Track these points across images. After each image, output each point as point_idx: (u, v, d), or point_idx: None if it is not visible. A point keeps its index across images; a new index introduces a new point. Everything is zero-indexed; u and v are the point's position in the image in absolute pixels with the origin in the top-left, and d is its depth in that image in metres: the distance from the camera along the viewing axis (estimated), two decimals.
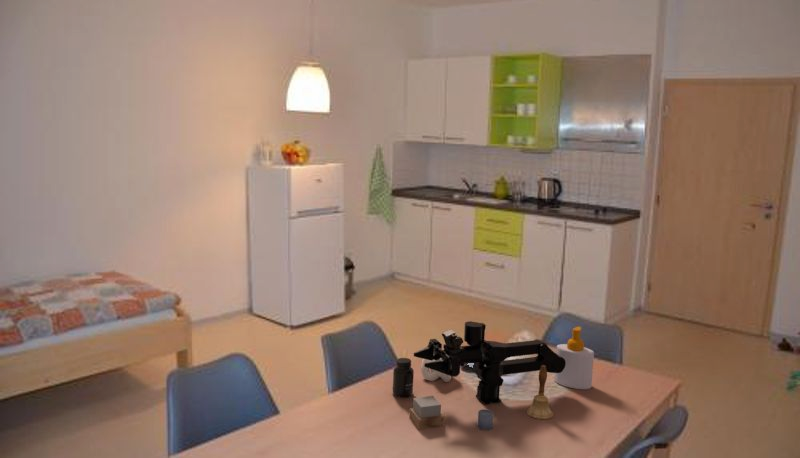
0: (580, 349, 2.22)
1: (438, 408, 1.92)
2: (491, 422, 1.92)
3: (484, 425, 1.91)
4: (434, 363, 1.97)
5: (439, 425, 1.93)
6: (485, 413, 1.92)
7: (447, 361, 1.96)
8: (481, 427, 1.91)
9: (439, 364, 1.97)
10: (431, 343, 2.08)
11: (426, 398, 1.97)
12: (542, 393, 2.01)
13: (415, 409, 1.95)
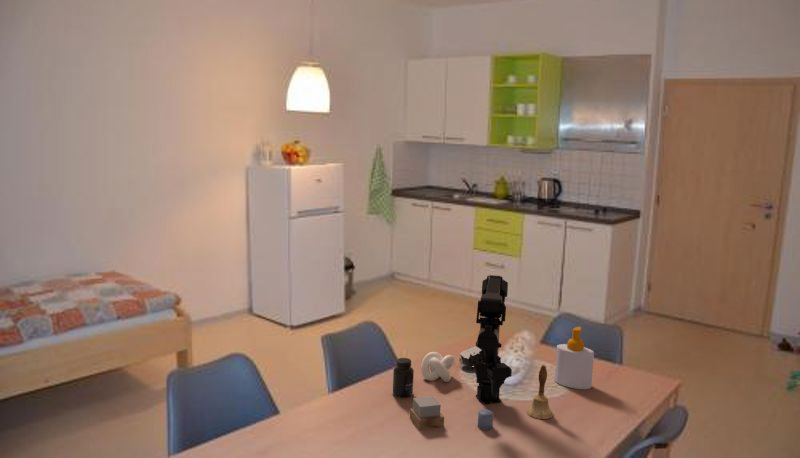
0: (580, 349, 2.22)
1: (437, 408, 1.92)
2: (491, 422, 1.92)
3: (484, 425, 1.91)
4: (494, 387, 1.85)
5: (439, 425, 1.92)
6: (485, 413, 1.92)
7: None
8: (481, 427, 1.91)
9: (495, 382, 1.85)
10: None
11: (426, 398, 1.97)
12: (542, 393, 2.01)
13: (415, 409, 1.95)
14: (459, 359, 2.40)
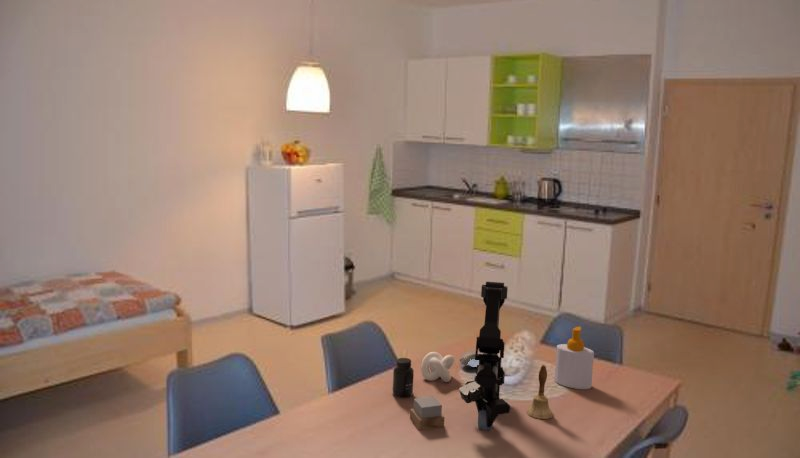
0: (580, 349, 2.22)
1: (439, 408, 1.92)
2: None
3: (484, 425, 1.91)
4: (489, 419, 1.89)
5: (440, 425, 1.92)
6: (485, 412, 1.92)
7: None
8: (481, 426, 1.91)
9: (491, 414, 1.89)
10: None
11: (427, 398, 1.96)
12: (542, 393, 2.01)
13: (416, 410, 1.95)
14: (460, 359, 2.40)
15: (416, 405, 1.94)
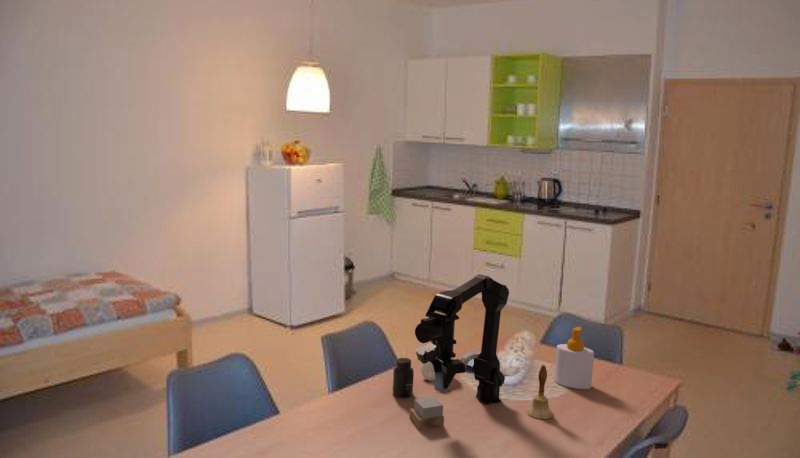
0: (580, 349, 2.22)
1: (440, 409, 1.92)
2: None
3: (440, 386, 1.90)
4: (445, 380, 1.89)
5: (439, 425, 1.92)
6: (441, 374, 1.92)
7: None
8: (438, 388, 1.91)
9: (447, 375, 1.88)
10: (429, 361, 1.94)
11: (427, 399, 1.96)
12: (542, 393, 2.01)
13: (417, 410, 1.94)
14: (460, 359, 2.40)
15: (417, 406, 1.94)
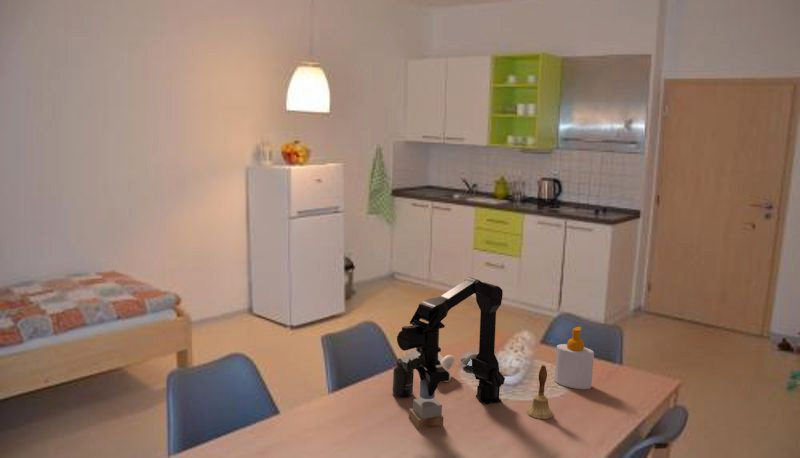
0: (580, 349, 2.22)
1: (439, 408, 1.92)
2: None
3: (425, 394, 1.92)
4: (430, 388, 1.90)
5: (439, 425, 1.92)
6: (426, 382, 1.93)
7: None
8: (423, 395, 1.92)
9: (431, 383, 1.90)
10: (415, 368, 1.95)
11: (426, 399, 1.96)
12: (542, 393, 2.01)
13: (415, 410, 1.94)
14: (461, 359, 2.40)
15: (416, 406, 1.94)
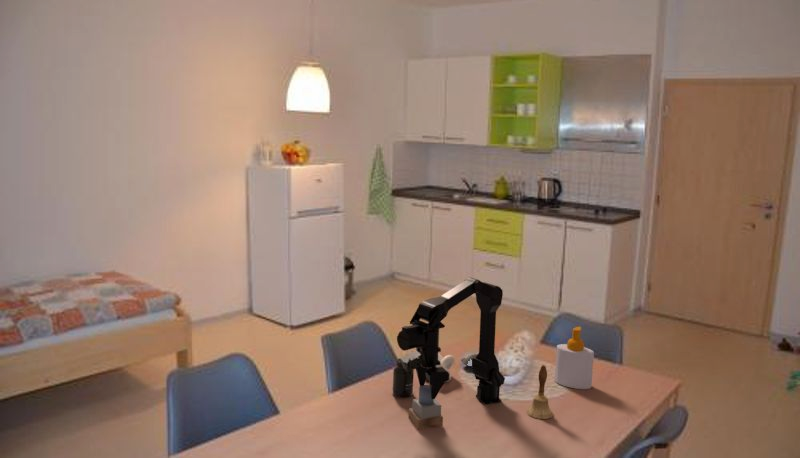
0: (580, 349, 2.22)
1: (438, 408, 1.92)
2: None
3: (424, 400, 1.92)
4: (433, 391, 1.88)
5: (438, 425, 1.93)
6: (425, 388, 1.93)
7: None
8: (422, 401, 1.92)
9: (434, 386, 1.88)
10: None
11: None
12: (542, 393, 2.01)
13: (415, 410, 1.94)
14: (461, 359, 2.40)
15: (415, 406, 1.94)
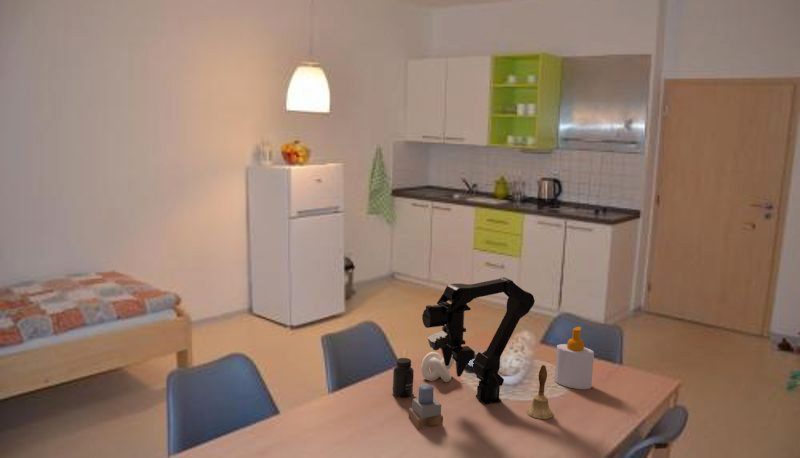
0: (580, 349, 2.22)
1: (438, 408, 1.93)
2: (431, 396, 1.93)
3: (424, 399, 1.92)
4: (459, 368, 1.99)
5: (438, 425, 1.93)
6: (425, 387, 1.94)
7: None
8: (421, 401, 1.92)
9: (460, 364, 1.99)
10: None
11: None
12: (542, 393, 2.01)
13: (415, 410, 1.95)
14: None
15: (415, 405, 1.94)
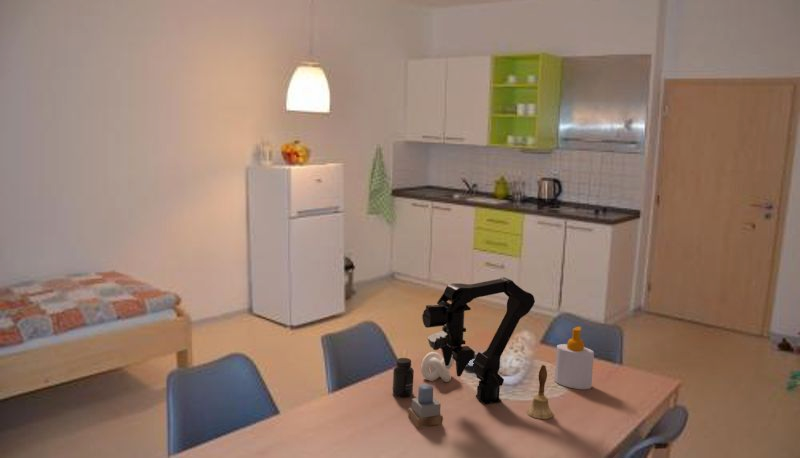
0: (580, 349, 2.22)
1: (438, 407, 1.93)
2: (431, 396, 1.93)
3: (423, 399, 1.92)
4: (459, 368, 1.99)
5: (438, 424, 1.93)
6: (425, 387, 1.94)
7: None
8: (421, 401, 1.93)
9: (460, 364, 1.99)
10: None
11: None
12: (542, 393, 2.01)
13: (414, 409, 1.95)
14: None
15: (414, 405, 1.94)
